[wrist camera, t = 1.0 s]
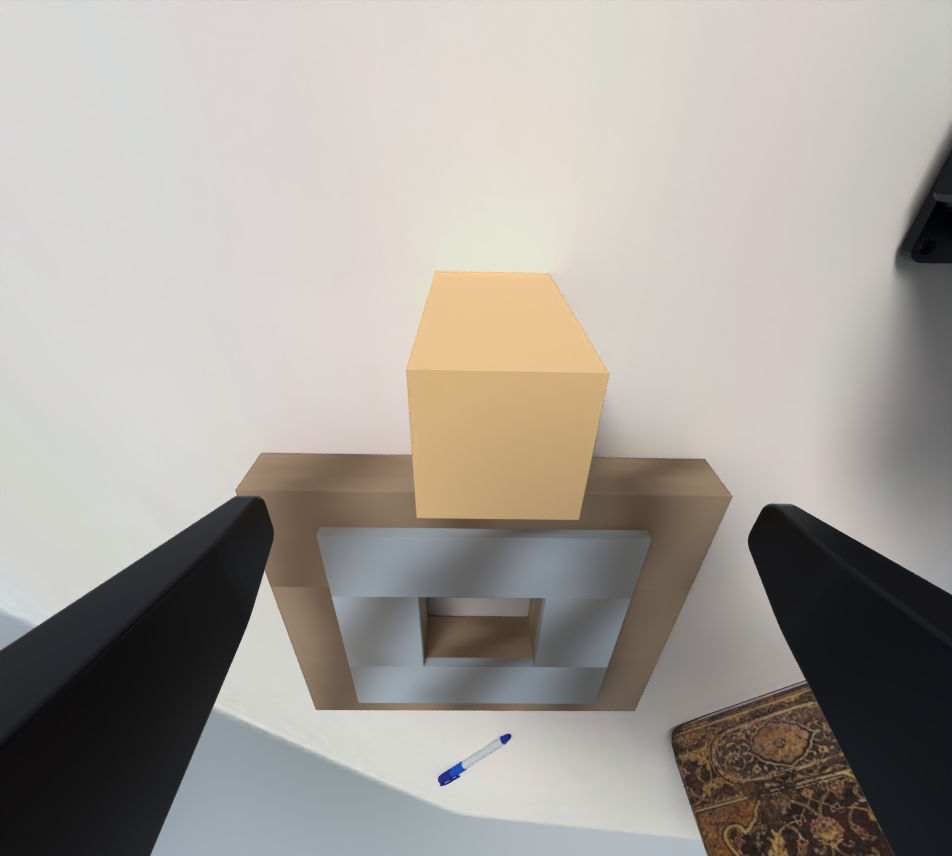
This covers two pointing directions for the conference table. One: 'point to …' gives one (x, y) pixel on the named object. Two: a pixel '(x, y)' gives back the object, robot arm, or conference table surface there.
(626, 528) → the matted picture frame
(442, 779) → the ballpoint pen
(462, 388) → the tan cardboard-colored box
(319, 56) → the conference table surface
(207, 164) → the conference table surface
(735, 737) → the book
